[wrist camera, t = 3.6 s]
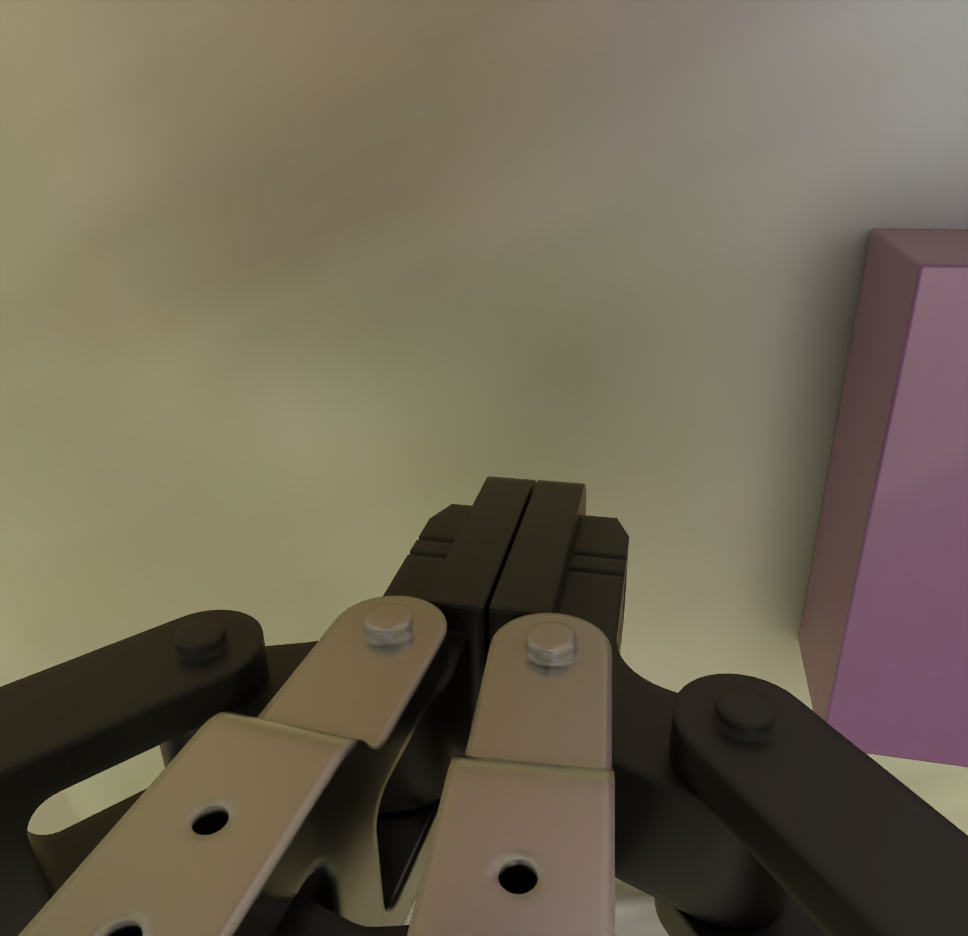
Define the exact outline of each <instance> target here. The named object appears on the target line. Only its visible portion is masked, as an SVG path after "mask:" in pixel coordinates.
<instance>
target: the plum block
mask: <svg viewBox="0 0 968 936" xmlns="http://www.w3.org/2000/svg"><path fill="white" fill-rule="evenodd" d="M798 640H799V645H800V650H801V655H802V659H803V664H804V669H805V673H806V678H807V683H808V688H809V692H810V697H811V702H812V706H813V711H814V712H815V713H816V714H817V715H818V716H820V717H821V718H822V719H823V720H825V721H826V722H827V723H828V724H830V725H831V726H832V727H833V728H834V729H836V730H837V731H838V732H839V733H841V734H842V735H843V736H844V737H846V738H847V739H848V740H849V741H851V742H852V743H853V744H854V745H856V746H857V747H858V748H859V749H861V750H862V751H863V752H864V753H869V754H876V755H883V756H891V757H898V758H905V759H912V760H920V761H927V762H934V763H941V764H949V765H956V766H963V767H968V230H911V229H874V230H872V231H871V234H870V240H869V245H868V251H867V257H866V262H865V268H864V273H863V279H862V285H861V290H860V296H859V302H858V307H857V313H856V318H855V324H854V330H853V335H852V341H851V346H850V352H849V358H848V363H847V369H846V375H845V380H844V386H843V391H842V397H841V403H840V408H839V414H838V420H837V425H836V431H835V436H834V442H833V448H832V453H831V459H830V464H829V470H828V476H827V481H826V487H825V493H824V498H823V504H822V509H821V515H820V521H819V526H818V532H817V538H816V543H815V549H814V554H813V560H812V566H811V571H810V577H809V582H808V588H807V594H806V599H805V605H804V611H803V616H802V622H801V627H800V633H799V639H798Z"/></svg>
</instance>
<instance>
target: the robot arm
mask: <svg viewBox="0 0 968 936" xmlns="http://www.w3.org/2000/svg"><path fill="white" fill-rule="evenodd" d="M628 545H629V536H628V534H627V533H626V531H625V530H624V528H623V527H622V525H621V524H620V522H619V521H618V519H617V518H609V517H597V516H586V485H585V484H580V483H568V482H555V481H542V480H538V481H537V483H536V481H535V480H528V479H515V478H502V477H487V479H486V481H485V482H484V484H483V486H482V488H481V490H480V492H479V494H478V496H477V498H476V500H475V502H474V504H473V506H469V505H457V504H451V505H450V506H448V507H447V508H445V509H444V510H442V511H441V512H439V513H438V514H436V515H434V516H433V517H431V518H430V519H429V521H428V522H427V524H426V526H425V527H424V529H423V531H422V532H421V534H420V536H419V540H417V541H416V542H415V544H414V546H413V547H412V549H411V551H410V555H408V556H407V557H406V559H405V561H404V562H403V564H402V565H401V567H400V569H399V570H398V572H397V574H396V575H395V577H394V579H393V580H392V582H391V584H390V585H389V587H388V589H387V590H386V592H385V594H384V595H383V597H378V598H373V599H369V600H366V601H363V602H360V603H358V604H356V605H354V606H352V607H350V608H348V609H347V610H346V611H344V612H343V613H342V614H341V615H340V616H339V617H338V618H337V619H336V620H335V621H334V622H333V624H332V625H331V626H330V627H329V629H328V630H327V631H326V632H325V634H324V635H323V636H322V637H321V639H320V640H319V641H314V642H307V643H296V644H285V645H274V646H265V642H264V636H263V630H262V627H261V625H260V624H259V623H258V621H257V620H255V619H254V618H253V617H251V616H249V615H247V614H245V613H241V612H238V611H231V610H210V611H203V612H198V613H194V614H190V615H187V616H184V617H181V618H178V619H176V620H173V621H170V622H168V623H165V624H163V625H160V626H157V627H155V628H152V629H150V630H147V631H144V632H142V633H139V634H137V635H134V636H131V637H129V638H126V639H124V640H121V641H118V642H116V643H113V644H111V645H108V646H105V647H103V648H100V649H98V650H95V651H92V652H90V653H87V654H85V655H82V656H80V657H77V658H74V659H72V660H69V661H67V662H64V663H61V664H59V665H56V666H54V667H51V668H48V669H46V670H43V671H41V672H38V673H35V674H33V675H30V676H28V677H25V678H22V679H20V680H17V681H15V682H12V683H9V684H7V685H4V686H2V687H0V936H615V877H616V878H618V879H620V880H622V881H624V882H626V883H628V884H629V885H631V886H633V887H635V888H637V889H639V890H641V891H643V892H645V893H647V894H649V895H651V896H653V897H655V907H656V911H657V914H658V917H659V919H660V921H661V923H662V925H663V927H664V928H665V930H666V931H667V933H668V934H669V936H968V836H967V835H966V834H965V833H964V832H962V831H961V830H960V829H959V828H957V827H956V826H955V825H954V824H952V823H951V822H950V821H949V820H948V819H946V818H945V817H944V816H943V815H941V814H940V813H939V812H938V811H936V810H935V809H934V808H933V807H931V806H930V805H929V804H928V803H926V802H925V801H924V800H923V799H921V798H920V797H919V796H918V795H916V794H915V793H914V792H913V791H911V790H910V789H909V788H908V787H907V786H905V785H904V784H903V783H902V782H900V781H899V780H898V779H897V778H895V777H894V776H893V775H892V774H890V773H889V772H888V771H887V770H885V769H884V768H883V767H882V766H880V765H879V764H878V763H877V762H875V761H874V760H873V759H872V758H870V757H869V756H868V755H867V754H866V753H864V752H863V751H862V750H861V749H859V748H858V747H857V746H856V745H854V744H853V743H852V742H851V741H849V740H848V739H847V738H846V737H844V736H843V735H842V734H841V733H839V732H838V731H837V730H836V729H834V728H833V727H832V726H831V725H830V724H828V723H827V722H826V721H825V720H823V719H822V718H821V717H820V716H818V715H817V714H816V713H815V712H813V711H812V710H811V709H810V708H808V707H807V706H806V705H805V704H803V703H802V702H801V701H800V700H798V699H797V698H796V697H795V696H793V695H792V694H790V693H789V692H788V691H786V690H784V689H782V688H780V687H779V686H777V685H775V684H772V683H770V682H767V681H765V680H762V679H758V678H755V677H751V676H746V675H740V674H715V675H708V676H704V677H701V678H698V679H696V680H694V681H692V682H690V683H688V684H687V685H686V686H684V687H683V688H682V689H681V690H680V692H679V693H676V692H673V691H670V690H668V689H665V688H662V687H660V686H658V685H655V684H653V683H651V682H649V681H647V680H646V679H644V678H642V677H641V676H639V675H638V674H637V673H635V672H634V671H633V670H632V669H631V668H630V667H629V666H628V665H627V664H626V663H625V662H624V660H623V659H622V657H621V655H620V649H621V640H622V631H623V622H624V607H625V591H626V576H627V561H628ZM158 745H160V749H161V753H162V757H163V761H164V765H165V769H164V770H163V771H162V772H161V773H160V775H159V776H158V777H157V778H156V779H155V780H154V781H153V783H152V784H151V785H150V786H149V787H148V788H147V789H145V790H143V791H141V792H139V793H137V794H135V795H133V796H131V797H129V798H127V799H125V800H123V801H121V802H119V803H117V804H115V805H113V806H111V807H109V808H107V809H105V810H103V811H101V812H98V813H96V814H94V815H92V816H90V817H88V818H86V819H84V820H82V821H80V822H78V823H76V824H74V825H72V826H70V827H68V828H66V829H64V830H62V831H60V832H57V833H54V834H49V835H35V834H33V833H30V832H28V831H27V827H28V823H29V820H30V818H31V816H32V814H33V813H34V812H35V810H36V809H37V808H38V807H39V806H40V805H41V804H42V803H43V802H44V801H45V800H47V799H48V798H49V797H51V796H52V795H54V794H56V793H58V792H60V791H62V790H64V789H66V788H68V787H70V786H73V785H75V784H77V783H79V782H81V781H83V780H85V779H87V778H90V777H92V776H94V775H96V774H98V773H100V772H102V771H104V770H107V769H109V768H111V767H113V766H115V765H117V764H119V763H122V762H124V761H126V760H128V759H130V758H132V757H134V756H136V755H139V754H141V753H143V752H145V751H147V750H149V749H151V748H154V747H156V746H158ZM416 895H417V897H416ZM415 897H416V901H415V905H414V909H413V913H412V917H411V921H410V925H404V923H405V921H406V919H407V916H408V914H409V912H410V909H411V907H412V904H413V902H414V900H415Z"/></svg>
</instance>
